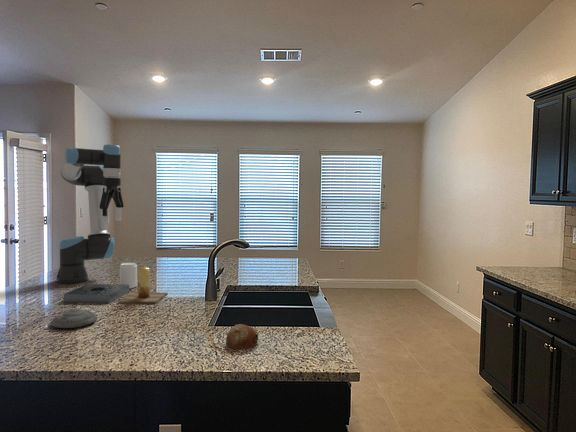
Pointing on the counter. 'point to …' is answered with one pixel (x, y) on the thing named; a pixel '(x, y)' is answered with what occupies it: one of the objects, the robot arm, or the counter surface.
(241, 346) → the bread roll
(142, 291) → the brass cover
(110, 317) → the counter surface
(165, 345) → the counter surface
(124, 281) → the white cylinder
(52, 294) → the counter surface
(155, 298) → the walnut pad
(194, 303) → the counter surface
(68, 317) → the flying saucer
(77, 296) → the bore block
